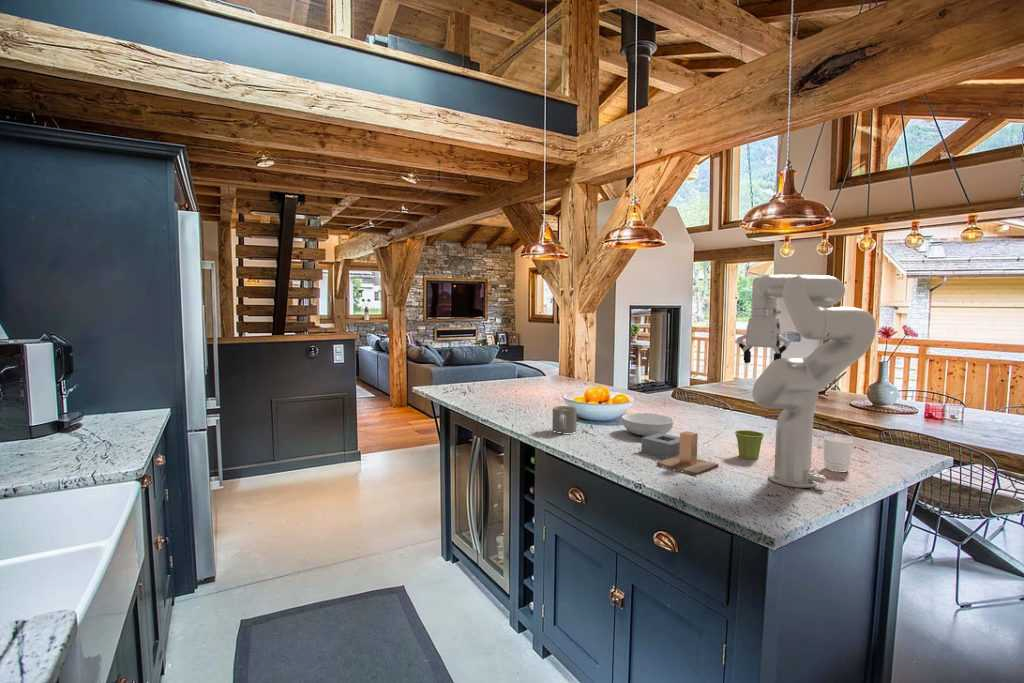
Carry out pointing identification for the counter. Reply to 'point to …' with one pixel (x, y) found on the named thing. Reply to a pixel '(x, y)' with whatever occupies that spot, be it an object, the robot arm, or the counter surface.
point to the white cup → (837, 453)
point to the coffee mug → (564, 419)
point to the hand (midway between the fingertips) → (761, 364)
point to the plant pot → (749, 443)
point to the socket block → (661, 445)
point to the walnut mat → (693, 469)
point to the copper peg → (688, 448)
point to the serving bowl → (647, 423)
